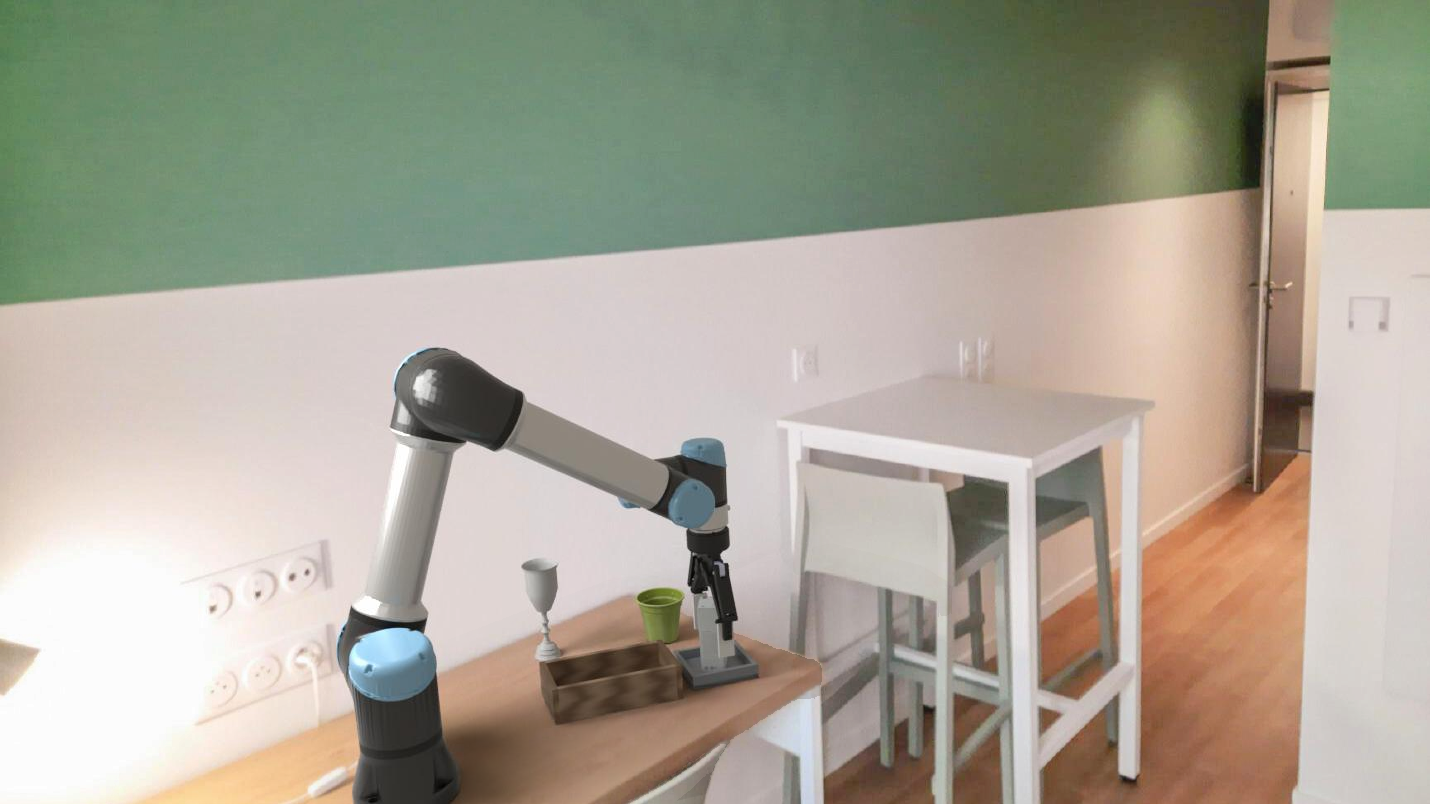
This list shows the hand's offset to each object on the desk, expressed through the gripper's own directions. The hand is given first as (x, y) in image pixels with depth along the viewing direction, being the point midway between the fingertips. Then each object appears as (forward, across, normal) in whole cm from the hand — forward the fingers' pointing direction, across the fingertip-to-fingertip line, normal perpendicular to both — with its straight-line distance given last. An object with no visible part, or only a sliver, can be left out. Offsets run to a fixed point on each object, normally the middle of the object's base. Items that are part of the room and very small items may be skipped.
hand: (713, 641), depth 193 cm
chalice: (+6, +20, +26) cm, 34 cm away
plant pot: (+6, +18, +4) cm, 19 cm away
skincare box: (+5, 0, 0) cm, 5 cm away
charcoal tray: (+6, 0, 0) cm, 6 cm away
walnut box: (+6, -2, +20) cm, 20 cm away
